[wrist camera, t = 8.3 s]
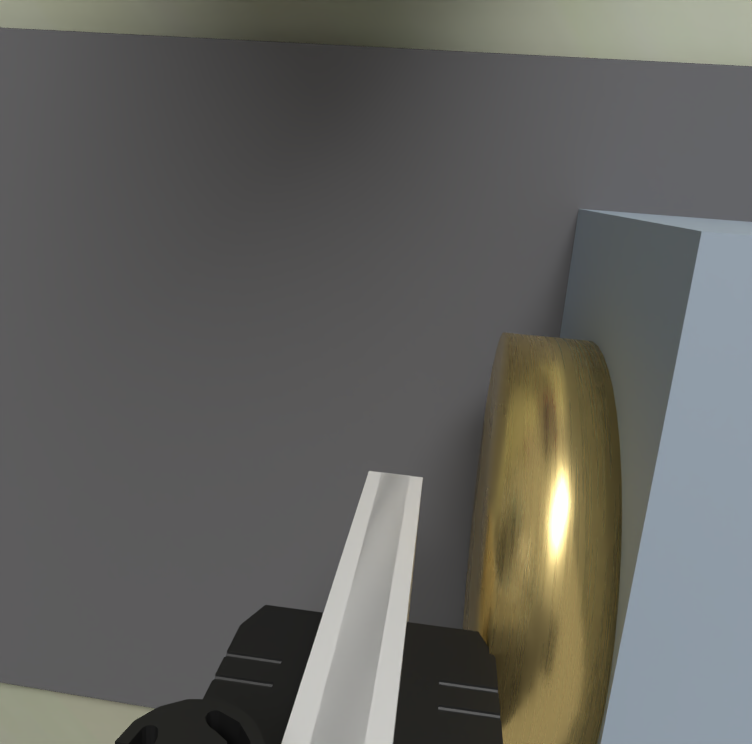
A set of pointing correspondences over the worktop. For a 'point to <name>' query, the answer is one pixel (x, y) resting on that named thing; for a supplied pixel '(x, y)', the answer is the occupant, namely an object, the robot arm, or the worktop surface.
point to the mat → (283, 312)
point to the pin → (548, 537)
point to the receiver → (676, 466)
